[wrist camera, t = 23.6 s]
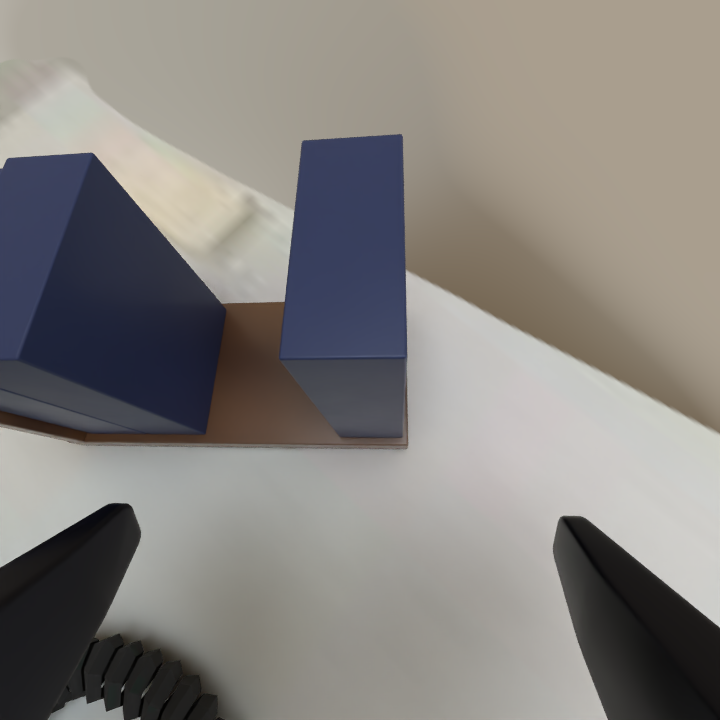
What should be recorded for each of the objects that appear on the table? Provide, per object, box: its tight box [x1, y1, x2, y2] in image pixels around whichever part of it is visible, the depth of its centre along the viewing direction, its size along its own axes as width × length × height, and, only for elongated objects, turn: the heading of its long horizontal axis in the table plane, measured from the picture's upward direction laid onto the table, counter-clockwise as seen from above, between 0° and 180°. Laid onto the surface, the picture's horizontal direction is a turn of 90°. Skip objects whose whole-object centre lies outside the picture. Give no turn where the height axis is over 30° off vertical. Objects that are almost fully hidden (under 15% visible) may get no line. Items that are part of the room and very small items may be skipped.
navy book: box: [279, 134, 407, 438], centre depth 16 cm, size 8×3×11 cm, turn 179°
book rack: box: [0, 302, 408, 449], centre depth 18 cm, size 8×18×11 cm, turn 89°
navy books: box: [0, 153, 226, 435], centre depth 17 cm, size 8×6×11 cm
